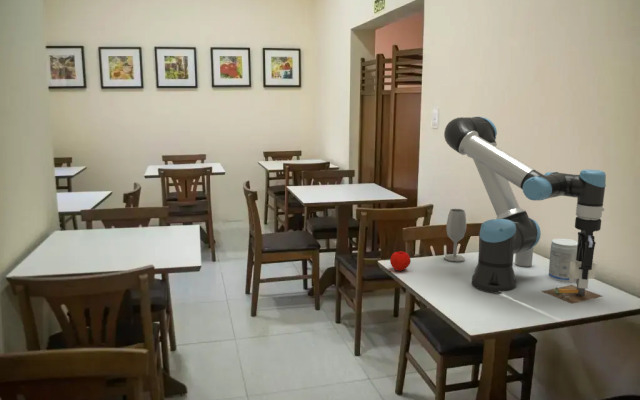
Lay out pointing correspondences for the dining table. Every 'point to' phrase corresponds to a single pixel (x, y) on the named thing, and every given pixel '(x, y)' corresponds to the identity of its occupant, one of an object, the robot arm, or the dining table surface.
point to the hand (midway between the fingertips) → (581, 285)
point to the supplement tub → (562, 259)
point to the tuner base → (571, 294)
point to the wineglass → (456, 231)
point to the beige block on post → (574, 274)
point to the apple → (400, 260)
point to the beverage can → (524, 258)
